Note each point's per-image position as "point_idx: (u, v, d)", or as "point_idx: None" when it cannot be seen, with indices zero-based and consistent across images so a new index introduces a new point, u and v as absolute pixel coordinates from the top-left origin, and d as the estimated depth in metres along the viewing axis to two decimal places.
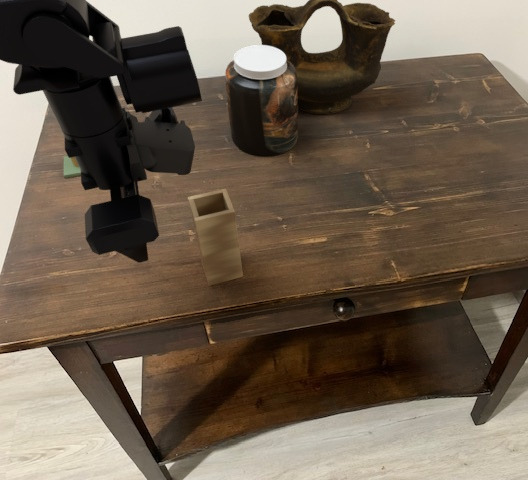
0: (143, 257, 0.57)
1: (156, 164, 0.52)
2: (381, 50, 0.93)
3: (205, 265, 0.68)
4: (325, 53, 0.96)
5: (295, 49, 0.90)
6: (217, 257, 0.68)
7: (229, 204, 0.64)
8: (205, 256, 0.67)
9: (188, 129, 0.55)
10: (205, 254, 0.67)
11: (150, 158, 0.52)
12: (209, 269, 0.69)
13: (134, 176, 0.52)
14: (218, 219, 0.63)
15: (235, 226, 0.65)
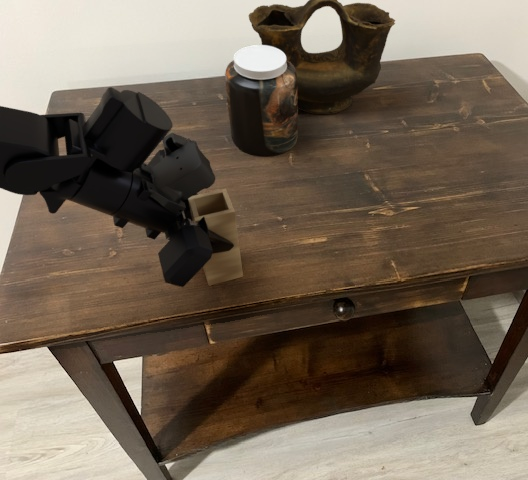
0: (227, 246, 0.66)
1: (183, 193, 0.58)
2: (381, 50, 0.93)
3: (205, 265, 0.68)
4: (325, 53, 0.96)
5: (295, 49, 0.90)
6: (217, 257, 0.68)
7: (229, 204, 0.64)
8: None
9: (192, 145, 0.59)
10: None
11: (174, 192, 0.58)
12: (209, 269, 0.69)
13: (175, 211, 0.59)
14: (218, 218, 0.63)
15: (235, 226, 0.65)
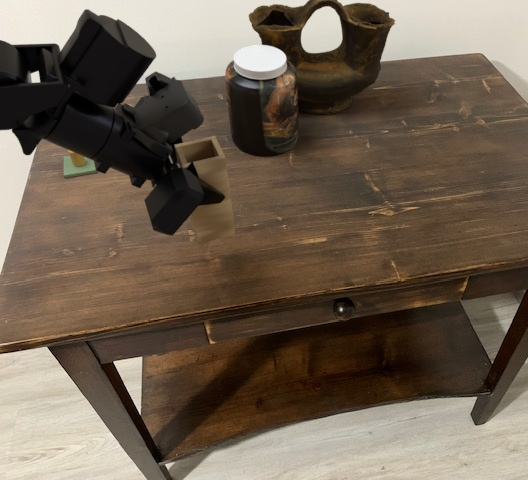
0: (218, 197, 0.62)
1: (169, 134, 0.54)
2: (381, 50, 0.93)
3: (195, 220, 0.64)
4: (325, 53, 0.96)
5: (295, 49, 0.90)
6: (207, 210, 0.64)
7: (219, 150, 0.60)
8: (195, 209, 0.63)
9: (178, 83, 0.55)
10: None
11: (160, 133, 0.54)
12: (199, 224, 0.65)
13: (161, 155, 0.55)
14: (208, 165, 0.59)
15: (226, 175, 0.61)
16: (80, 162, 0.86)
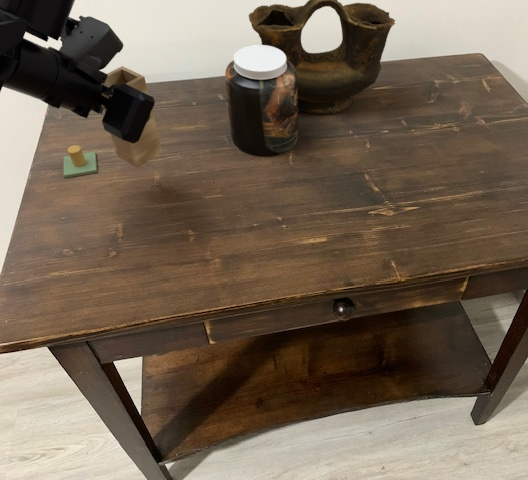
0: None
1: (102, 59, 0.64)
2: (381, 50, 0.93)
3: (131, 143, 0.74)
4: (325, 53, 0.96)
5: (295, 49, 0.90)
6: None
7: (135, 73, 0.71)
8: None
9: (89, 18, 0.64)
10: None
11: (95, 59, 0.63)
12: (135, 147, 0.75)
13: (100, 80, 0.64)
14: (133, 86, 0.70)
15: (147, 93, 0.72)
16: (80, 162, 0.86)
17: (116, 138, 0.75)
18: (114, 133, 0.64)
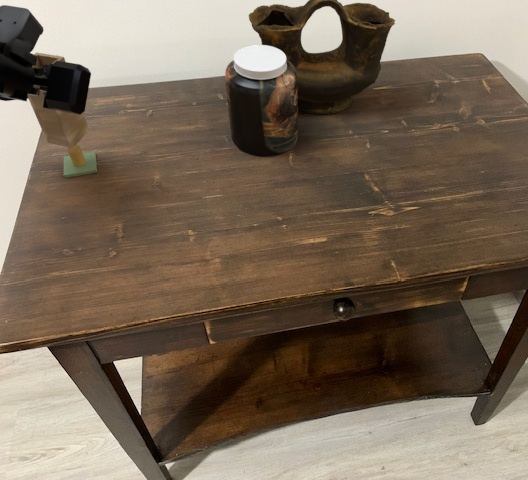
0: None
1: (29, 42, 0.68)
2: (381, 50, 0.93)
3: (64, 123, 0.78)
4: (325, 53, 0.96)
5: (295, 49, 0.90)
6: None
7: (53, 56, 0.75)
8: (61, 113, 0.77)
9: (4, 6, 0.68)
10: (61, 111, 0.77)
11: (24, 43, 0.67)
12: (68, 127, 0.79)
13: (32, 62, 0.68)
14: None
15: None
16: (80, 162, 0.86)
17: (46, 123, 0.79)
18: (61, 107, 0.69)
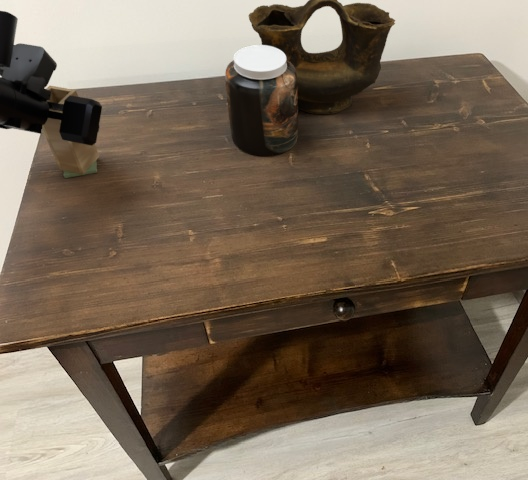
0: None
1: (44, 79, 0.72)
2: (381, 50, 0.93)
3: (76, 152, 0.82)
4: (325, 53, 0.96)
5: (295, 49, 0.90)
6: None
7: (66, 89, 0.79)
8: (73, 142, 0.81)
9: (20, 45, 0.71)
10: None
11: (39, 79, 0.71)
12: (79, 156, 0.83)
13: (46, 97, 0.72)
14: None
15: None
16: None
17: (58, 152, 0.83)
18: (74, 140, 0.73)
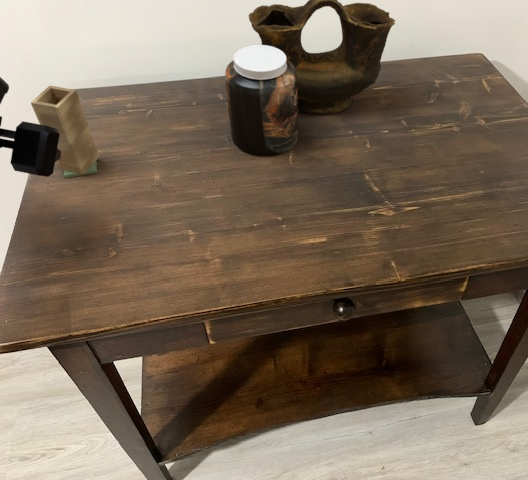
0: (58, 152, 0.74)
1: None
2: (381, 50, 0.93)
3: (76, 152, 0.82)
4: (325, 53, 0.96)
5: (295, 49, 0.90)
6: (80, 141, 0.82)
7: (66, 89, 0.79)
8: (73, 142, 0.81)
9: None
10: (73, 141, 0.81)
11: None
12: (79, 156, 0.83)
13: None
14: (69, 100, 0.78)
15: (80, 105, 0.81)
16: None
17: None
18: (27, 171, 0.65)
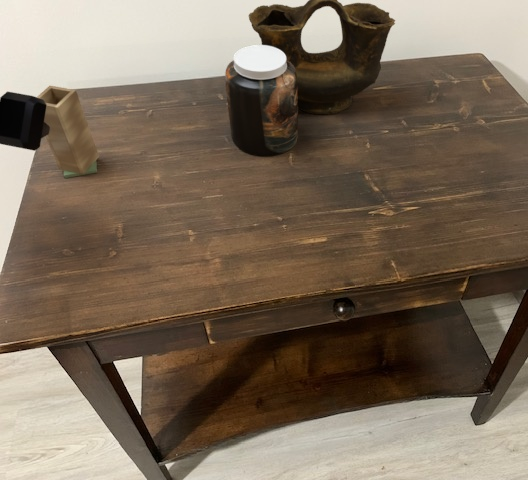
0: (46, 127, 0.70)
1: None
2: (381, 50, 0.93)
3: (76, 152, 0.82)
4: (325, 53, 0.96)
5: (295, 49, 0.90)
6: (80, 141, 0.82)
7: (66, 89, 0.79)
8: (73, 142, 0.81)
9: None
10: (73, 141, 0.81)
11: None
12: (79, 156, 0.83)
13: None
14: (69, 100, 0.78)
15: (80, 105, 0.81)
16: None
17: (58, 152, 0.83)
18: (12, 144, 0.62)
